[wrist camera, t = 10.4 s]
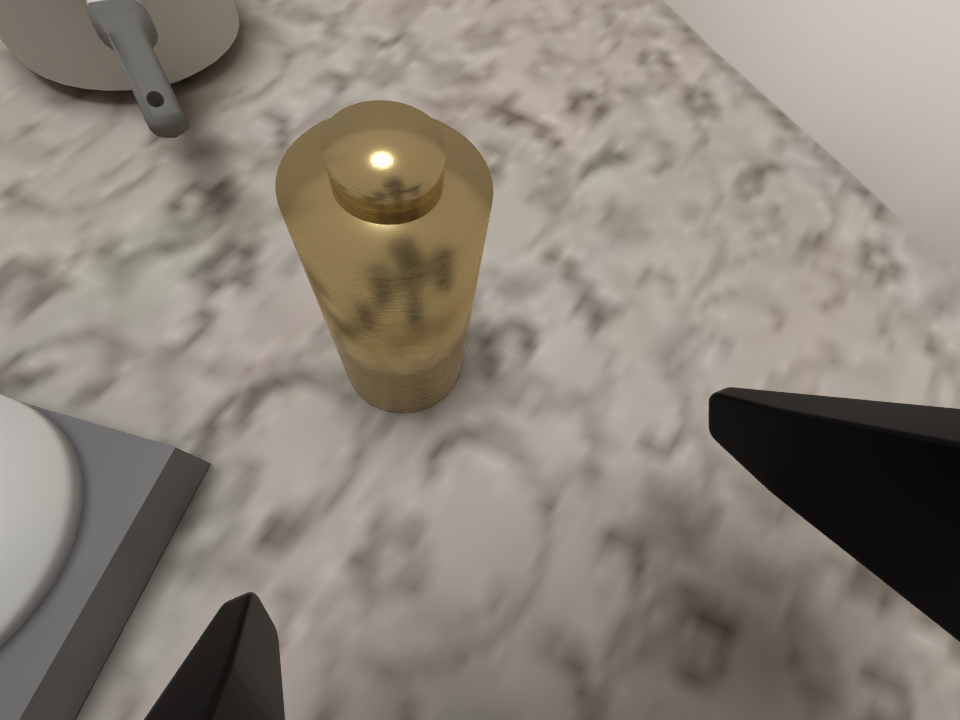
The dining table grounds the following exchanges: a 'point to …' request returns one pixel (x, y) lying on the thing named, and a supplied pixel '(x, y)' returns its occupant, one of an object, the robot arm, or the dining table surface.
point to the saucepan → (122, 46)
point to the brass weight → (390, 244)
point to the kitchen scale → (76, 548)
